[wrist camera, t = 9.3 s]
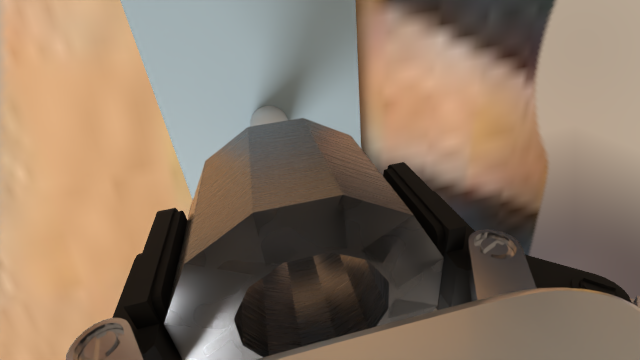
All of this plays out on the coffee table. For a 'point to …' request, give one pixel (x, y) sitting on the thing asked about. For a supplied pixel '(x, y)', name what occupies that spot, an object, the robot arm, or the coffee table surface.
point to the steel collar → (295, 247)
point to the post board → (246, 68)
